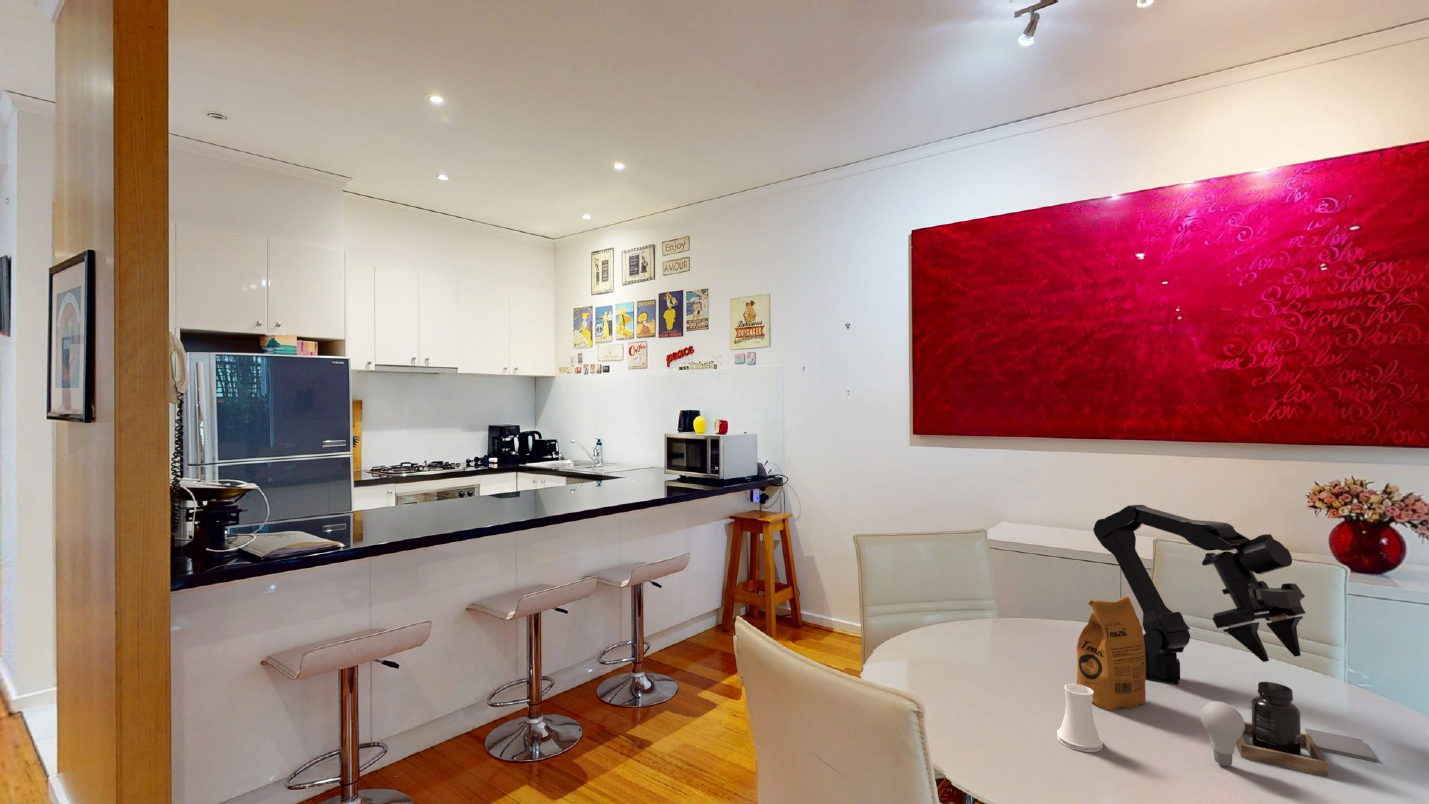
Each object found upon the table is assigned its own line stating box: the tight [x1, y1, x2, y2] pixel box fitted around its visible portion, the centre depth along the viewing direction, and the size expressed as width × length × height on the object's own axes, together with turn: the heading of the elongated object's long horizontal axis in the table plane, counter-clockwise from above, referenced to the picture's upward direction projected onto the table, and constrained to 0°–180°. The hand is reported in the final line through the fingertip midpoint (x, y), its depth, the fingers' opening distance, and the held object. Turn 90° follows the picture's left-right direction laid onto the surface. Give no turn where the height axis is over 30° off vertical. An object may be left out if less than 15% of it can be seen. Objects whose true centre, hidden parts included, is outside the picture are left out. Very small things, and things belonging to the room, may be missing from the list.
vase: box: [1056, 683, 1104, 753], centre depth 121 cm, size 8×8×10 cm
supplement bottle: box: [1251, 681, 1302, 756], centre depth 118 cm, size 7×7×12 cm
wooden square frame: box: [1235, 721, 1329, 777], centre depth 118 cm, size 12×12×2 cm
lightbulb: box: [1200, 701, 1245, 767], centre depth 113 cm, size 6×6×11 cm
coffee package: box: [1076, 595, 1147, 712], centre depth 139 cm, size 10×12×22 cm
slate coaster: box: [1304, 727, 1377, 762], centre depth 120 cm, size 8×8×1 cm
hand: (1282, 658), depth 127 cm, fingers open, 9 cm apart
